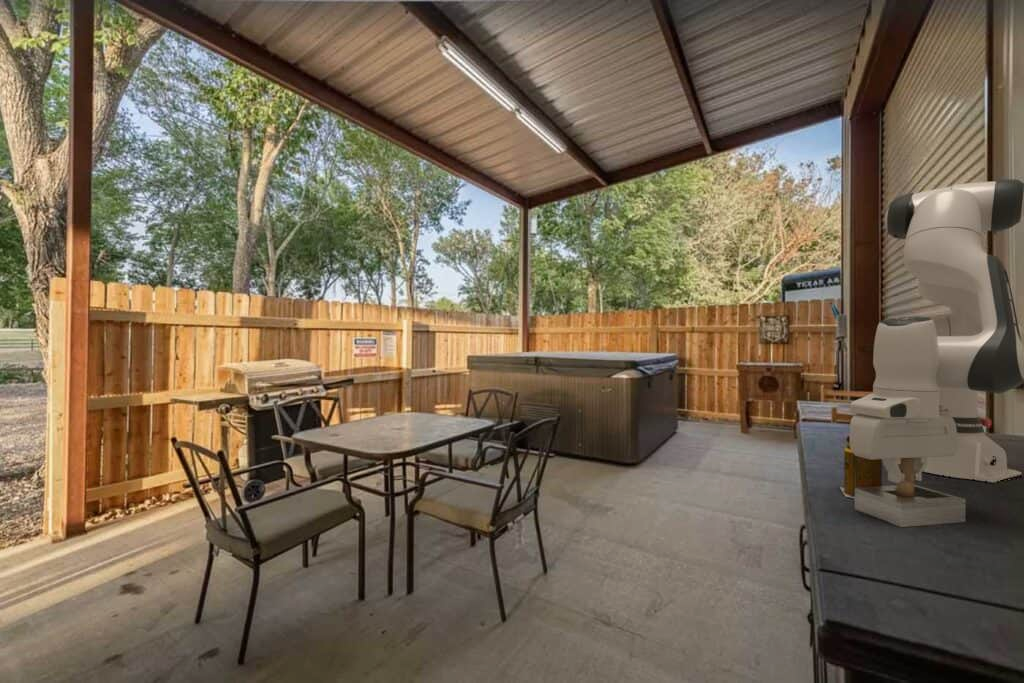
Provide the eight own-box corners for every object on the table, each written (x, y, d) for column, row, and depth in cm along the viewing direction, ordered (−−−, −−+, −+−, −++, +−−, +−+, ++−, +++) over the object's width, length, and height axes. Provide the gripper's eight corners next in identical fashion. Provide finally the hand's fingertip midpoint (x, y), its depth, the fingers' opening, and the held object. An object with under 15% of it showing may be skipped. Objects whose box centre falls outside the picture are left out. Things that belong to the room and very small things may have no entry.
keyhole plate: (914, 504, 82) (914, 484, 82) (965, 521, 74) (965, 499, 74) (854, 509, 80) (854, 488, 80) (901, 527, 72) (901, 503, 72)
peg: (902, 506, 79) (902, 452, 79) (926, 514, 75) (926, 457, 75) (884, 507, 78) (884, 453, 78) (908, 515, 74) (908, 458, 74)
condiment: (839, 487, 92) (839, 432, 92) (890, 495, 88) (890, 437, 88) (845, 497, 86) (845, 438, 86) (900, 506, 82) (900, 444, 82)
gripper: (929, 402, 82) (929, 473, 82) (842, 403, 78) (841, 478, 78) (970, 407, 76) (970, 484, 75) (877, 408, 72) (877, 489, 72)
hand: (904, 481), depth 77 cm, fingers closed on peg, 2 cm apart
